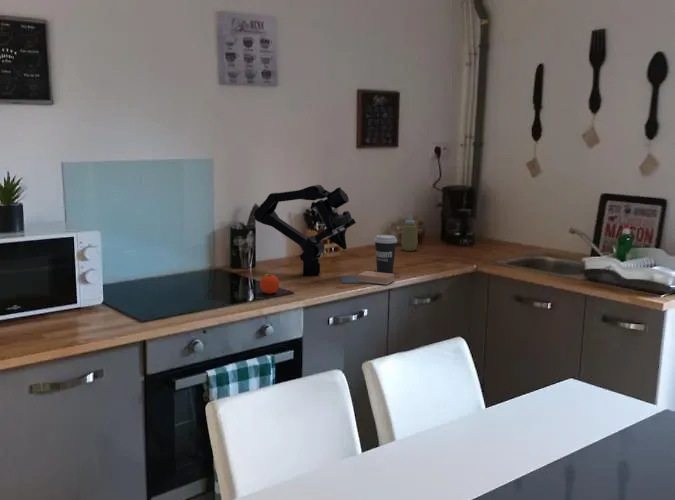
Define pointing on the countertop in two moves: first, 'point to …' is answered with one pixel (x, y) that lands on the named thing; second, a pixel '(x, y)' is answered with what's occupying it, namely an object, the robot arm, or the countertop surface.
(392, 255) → the coffee cup
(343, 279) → the mat
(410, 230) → the squeeze bottle
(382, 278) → the tile
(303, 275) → the robot arm
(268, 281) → the clementine
